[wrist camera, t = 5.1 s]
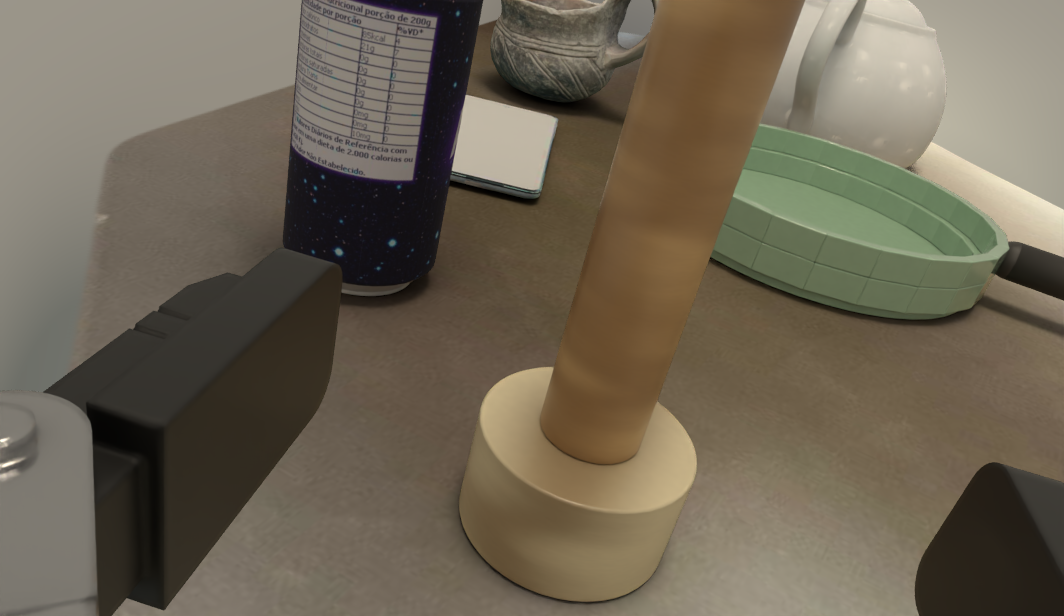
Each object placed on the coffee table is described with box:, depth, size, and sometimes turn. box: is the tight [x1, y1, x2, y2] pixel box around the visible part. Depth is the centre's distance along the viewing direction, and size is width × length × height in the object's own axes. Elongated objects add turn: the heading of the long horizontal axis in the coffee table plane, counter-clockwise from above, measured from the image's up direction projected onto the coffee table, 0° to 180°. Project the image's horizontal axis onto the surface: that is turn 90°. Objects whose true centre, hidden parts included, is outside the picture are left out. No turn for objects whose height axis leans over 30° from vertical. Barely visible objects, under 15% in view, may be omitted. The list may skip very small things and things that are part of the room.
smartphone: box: [450, 94, 558, 199], centre depth 47 cm, size 7×1×15 cm
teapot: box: [760, 0, 947, 169], centre depth 64 cm, size 19×18×14 cm
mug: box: [491, 0, 659, 102], centre depth 57 cm, size 10×12×10 cm
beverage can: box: [283, 0, 483, 296], centre depth 28 cm, size 6×6×12 cm
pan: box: [710, 123, 1009, 320], centre depth 45 cm, size 19×19×4 cm
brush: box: [459, 0, 805, 602], centre depth 18 cm, size 6×6×15 cm
